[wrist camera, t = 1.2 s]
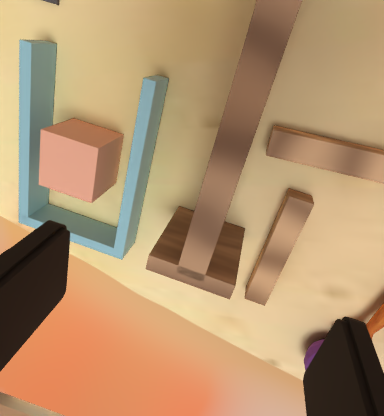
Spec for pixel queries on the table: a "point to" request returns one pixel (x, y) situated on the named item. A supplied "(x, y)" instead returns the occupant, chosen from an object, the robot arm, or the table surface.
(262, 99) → the crook rake
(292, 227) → the plain stick
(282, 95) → the table surface
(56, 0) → the grey square tile
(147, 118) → the cubby
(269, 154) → the plain stick
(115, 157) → the clay-red block
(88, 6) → the table surface
